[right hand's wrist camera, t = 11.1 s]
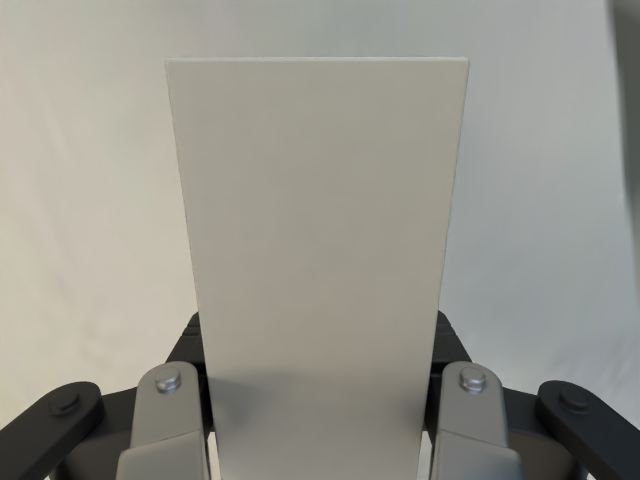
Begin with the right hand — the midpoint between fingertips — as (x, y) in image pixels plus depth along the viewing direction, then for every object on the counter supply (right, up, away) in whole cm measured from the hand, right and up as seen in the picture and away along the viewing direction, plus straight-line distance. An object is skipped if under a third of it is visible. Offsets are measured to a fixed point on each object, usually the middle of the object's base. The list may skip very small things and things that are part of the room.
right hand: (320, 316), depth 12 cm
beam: (0, -24, +11) cm, 27 cm away
